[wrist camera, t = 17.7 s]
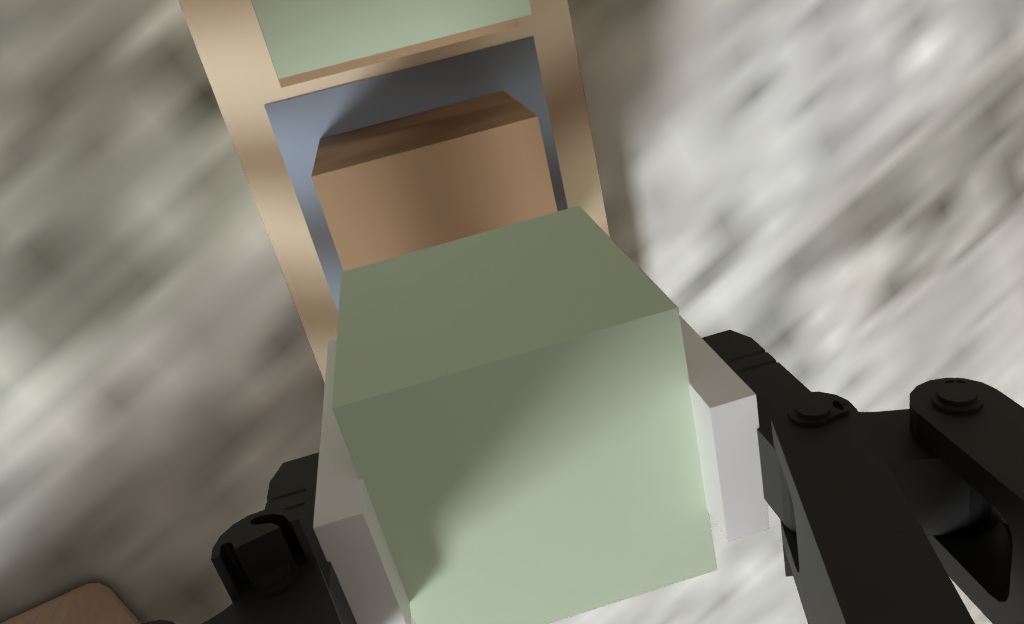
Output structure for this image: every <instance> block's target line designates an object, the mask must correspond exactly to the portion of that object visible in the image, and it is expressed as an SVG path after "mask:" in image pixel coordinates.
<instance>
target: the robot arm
mask: <svg viewBox="0 0 1024 624" xmlns="http://www.w3.org/2000/svg"><path fill="white" fill-rule="evenodd" d="M679 316H680V315H679ZM680 323H681V330H682V336H683V343H684V350H685V357H686V363H687V370H688V377H689V388H690V395H691V402H692V409H693V416H694V423H695V430H696V437H697V443H698V450H699V457H700V464H701V471H702V478H703V485H704V492H705V498H706V505H707V511H708V513H709V514H710V516H711V517H712V519H713V520H714V522H715V523H716V525H717V526H718V528H719V529H720V531H721V532H722V534H723V535H724V537H725V538H726V540H727V541H728V542H729V541H732V540H736V539H739V538H742V537H745V536H748V535H751V534H755V533H758V532H761V531H764V530H767V529H770V527H769V517H768V507H767V503H768V504H769V505H770V507H771V508H772V509H773V510H774V512H775V513H776V514H777V515H778V517H779V518H780V519H781V530H782V540H783V551H784V562H785V572H786V576H793V577H794V580H795V583H796V586H797V590H798V593H799V596H800V599H801V602H802V606H803V609H804V612H805V615H806V618H807V622H808V624H975V623H974V621H973V619H972V618H971V616H970V614H969V612H968V610H967V609H966V607H965V605H964V603H963V601H962V599H961V598H960V596H959V594H958V592H957V590H956V589H955V587H954V585H953V583H952V581H951V580H950V578H951V579H952V580H953V581H954V582H955V584H956V585H957V586H958V587H959V588H960V589H961V590H962V591H963V592H964V593H965V594H966V595H967V596H968V598H969V599H970V600H971V601H972V602H973V603H974V604H975V605H976V606H977V607H978V608H979V609H980V610H981V612H982V613H983V614H984V615H985V616H986V617H987V618H988V619H989V620H990V621H991V622H992V623H993V624H1024V408H1023V407H1022V406H1020V405H1019V404H1017V403H1016V402H1014V401H1013V400H1012V399H1010V398H1009V397H1007V396H1006V395H1004V394H1003V393H1001V392H1000V391H998V390H997V389H995V388H993V387H991V386H989V385H987V384H984V383H982V382H978V381H973V380H969V379H964V378H942V379H936V380H930V381H927V382H925V383H923V384H920V385H918V386H917V387H916V388H915V389H914V390H913V391H912V392H911V393H910V409H904V410H893V411H881V412H858V411H857V409H856V408H855V407H854V406H853V405H852V404H851V403H850V402H849V401H848V400H846V399H844V398H842V397H839V396H837V395H834V394H829V393H823V392H811V391H810V390H808V389H807V388H806V387H805V386H804V385H803V384H802V383H801V382H800V381H799V380H797V379H796V378H795V377H794V376H793V375H792V374H791V373H790V372H789V371H787V370H786V369H785V368H784V367H783V366H782V365H781V364H780V363H779V362H778V363H776V360H775V359H774V358H773V357H772V356H771V355H770V354H769V353H768V352H767V353H766V352H765V350H764V349H763V348H762V347H761V346H760V345H759V344H758V343H757V342H755V341H754V340H753V339H752V338H751V337H748V336H745V335H742V334H740V333H737V332H734V331H732V330H727V331H724V332H721V333H717V334H714V335H710V336H707V337H704V338H701V337H700V336H699V335H698V334H697V333H696V332H695V331H694V330H693V329H692V328H691V327H690V326H689V324H688V323H687V322H686V321H685V320H684V319H683V318H682V317H681V316H680ZM336 342H337V339H334V340H331V341H328V351H327V363H326V375H325V387H324V400H323V412H322V424H321V436H320V449H319V453H316V454H312V455H309V456H305V457H302V458H299V459H295V460H292V461H288V462H285V463H283V464H282V466H281V467H280V468H279V470H278V471H277V473H276V474H275V475H274V477H273V478H272V480H271V481H270V484H269V490H268V496H267V503H266V507H265V510H263V511H260V512H257V513H255V514H252V515H249V516H247V517H245V518H244V519H242V520H240V521H239V522H237V523H235V524H233V525H232V526H231V527H230V528H229V529H228V530H227V531H226V532H225V533H223V534H222V535H221V536H220V538H219V539H218V541H217V542H216V544H215V546H214V547H213V550H212V557H211V560H212V562H213V564H214V566H215V568H216V570H217V572H218V574H219V576H220V578H221V580H222V582H223V584H224V586H225V588H226V590H227V592H228V594H229V595H230V597H231V599H232V602H233V604H231V605H230V606H229V607H228V608H227V609H225V610H224V611H222V612H221V613H219V614H218V615H216V616H215V617H213V618H211V619H210V620H208V621H206V622H204V623H202V624H411V613H410V602H409V600H408V597H407V594H406V592H405V589H404V587H403V584H402V581H401V579H400V576H399V573H398V571H397V568H396V566H395V563H394V560H393V558H392V555H391V552H390V550H389V547H388V544H387V542H386V539H385V537H384V534H383V531H382V529H381V526H380V523H379V521H378V518H377V516H376V513H375V510H374V508H373V505H372V502H371V500H370V497H369V495H368V492H367V489H366V487H365V484H364V481H363V479H360V480H359V477H358V474H357V472H356V469H355V467H354V464H353V462H352V459H351V456H350V454H349V451H348V449H347V446H346V444H345V441H344V438H343V436H342V433H341V431H340V428H339V426H338V423H337V420H336V418H335V415H334V413H333V410H332V400H333V385H334V371H335V357H336ZM949 577H950V578H949ZM143 624H175V623H174V622H171V621H165V620H157V621H151V622H146V623H143Z"/></svg>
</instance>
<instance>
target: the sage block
mask: <svg viewBox="0 0 1024 624" xmlns="http://www.w3.org/2000/svg"><path fill="white" fill-rule="evenodd" d="M332 410H333V413H334V415H335V418H336V420H337V423H338V426H339V428H340V431H341V433H342V436H343V438H344V441H345V444H346V446H347V449H348V451H349V454H350V456H351V459H352V462H353V464H354V467H355V469H356V472H357V474H358V477H359V480H360V479H363V481H364V484H365V487H366V489H367V492H368V495H369V497H370V500H371V502H372V505H373V508H374V510H375V513H376V516H377V518H378V521H379V523H380V526H381V529H382V531H383V534H384V537H385V539H386V542H387V544H388V547H389V550H390V552H391V555H392V558H393V560H394V563H395V566H396V568H397V571H398V573H399V576H400V579H401V581H402V584H403V587H404V589H405V592H406V594H407V597H408V600H409V602H410V611H411V613H412V616H413V619H414V621H415V624H549V623H552V622H555V621H558V620H561V619H564V618H568V617H571V616H574V615H577V614H580V613H583V612H586V611H590V610H593V609H596V608H599V607H602V606H605V605H608V604H612V603H615V602H618V601H621V600H624V599H627V598H630V597H634V596H637V595H640V594H643V593H646V592H649V591H652V590H656V589H659V588H662V587H665V586H668V585H671V584H674V583H678V582H681V581H684V580H687V579H690V578H693V577H696V576H700V575H703V574H706V573H709V572H712V571H715V570H717V564H716V557H715V550H714V544H713V537H712V530H711V523H710V517H709V513H708V511H707V505H706V498H705V492H704V485H703V478H702V471H701V464H700V457H699V450H698V443H697V437H696V430H695V423H694V416H693V409H692V402H691V395H690V388H689V377H688V370H687V363H686V357H685V350H684V343H683V336H682V330H681V323H680V316H679V310H678V307H677V306H676V305H675V304H674V303H673V302H672V301H671V300H670V299H669V298H668V297H667V295H666V294H665V293H664V292H663V291H662V290H661V289H660V288H659V287H658V286H657V285H656V284H655V283H654V282H653V281H652V280H651V279H650V278H649V277H648V276H647V275H646V274H645V273H644V272H643V271H642V270H641V269H640V268H639V267H638V266H637V265H636V264H635V263H634V262H633V261H632V260H631V258H630V257H629V256H628V255H627V254H626V253H625V252H624V251H623V250H622V249H621V248H620V247H619V246H618V245H617V244H616V243H615V242H614V241H613V240H612V239H611V238H610V237H609V236H608V235H607V234H606V233H605V232H604V231H603V230H602V229H601V228H600V227H599V226H598V225H597V224H596V223H595V221H594V220H593V219H592V218H591V217H590V216H589V215H588V214H587V213H586V212H585V211H584V210H583V209H582V208H581V207H580V206H576V207H573V208H569V209H565V210H562V211H558V212H555V213H551V214H547V215H544V216H540V217H537V218H533V219H530V220H526V221H522V222H519V223H515V224H512V225H508V226H505V227H501V228H497V229H494V230H490V231H487V232H483V233H480V234H476V235H472V236H469V237H465V238H462V239H458V240H454V241H451V242H447V243H444V244H440V245H437V246H433V247H429V248H426V249H422V250H419V251H415V252H412V253H408V254H404V255H401V256H397V257H394V258H390V259H387V260H383V261H379V262H376V263H372V264H369V265H365V266H361V267H358V268H354V269H351V270H347V271H344V272H341V285H340V299H339V313H338V328H337V342H336V357H335V371H334V385H333V400H332Z"/></svg>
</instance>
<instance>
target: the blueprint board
mask: <svg viewBox="0 0 1024 624" xmlns="http://www.w3.org/2000/svg"><path fill="white" fill-rule="evenodd" d="M529 2H530V7H531V12H532V14H531V15H527V16H523V17H519V18H518V23H519V27H516V28H512V29H508V30H504V31H500V32H496V33H493V34H489V35H485V36H481V37H477V38H473V39H469V40H465V41H461V42H458V43H454V44H450V45H446V46H442V47H438V48H434V49H430V50H426V51H423V52H419V53H415V54H411V55H407V56H403V57H399V58H395V59H391V60H388V61H384V62H380V63H376V64H372V65H368V66H364V67H360V68H356V69H353V70H349V71H345V72H341V73H337V74H333V75H329V76H325V77H321V78H318V79H314V80H310V81H306V82H302V83H298V84H294V85H290V86H286V87H283V88H281V86H280V83H279V80H278V77H277V74H276V71H275V69H274V66H273V63H272V60H271V57H270V54H269V51H268V48H267V45H266V42H265V40H264V37H263V34H262V31H261V28H260V25H259V22H258V19H257V16H256V13H255V10H254V8H253V5H252V2H251V0H179V3H180V6H181V8H182V11H183V14H184V16H185V19H186V21H187V24H188V27H189V29H190V32H191V34H192V37H193V40H194V42H195V45H196V48H197V50H198V53H199V55H200V58H201V61H202V63H203V66H204V68H205V71H206V74H207V76H208V79H209V82H210V84H211V87H212V89H213V92H214V95H215V97H216V100H217V102H218V105H219V108H220V110H221V113H222V116H223V118H224V121H225V123H226V126H227V129H228V131H229V134H230V136H231V139H232V142H233V144H234V147H235V150H236V152H237V155H238V157H239V160H240V163H241V165H242V168H243V171H244V173H245V176H246V178H247V181H248V184H249V186H250V189H251V191H252V194H253V197H254V199H255V202H256V205H257V207H258V210H259V212H260V215H261V218H262V220H263V223H264V225H265V228H266V231H267V233H268V236H269V239H270V241H271V244H272V246H273V249H274V252H275V254H276V257H277V259H278V262H279V265H280V267H281V270H282V273H283V275H284V278H285V280H286V283H287V286H288V288H289V291H290V293H291V296H292V299H293V301H294V304H295V307H296V309H297V312H298V314H299V317H300V320H301V322H302V325H303V327H304V330H305V333H306V335H307V338H308V341H309V343H310V346H311V348H312V351H313V354H314V356H315V359H316V361H317V364H318V367H319V369H320V372H321V375H322V377H323V380H324V382H325V375H326V363H327V351H328V341H331V340H334V339H337V328H338V313H339V299H340V285H341V272H344V271H343V268H342V265H341V262H340V259H339V256H338V253H337V250H336V247H335V245H334V242H333V239H332V236H331V233H330V230H329V227H328V224H327V221H326V218H325V216H324V213H323V210H322V207H321V204H320V201H319V198H318V195H317V192H316V189H315V187H314V184H313V181H312V178H311V175H312V171H313V167H314V162H315V158H316V153H317V149H318V145H319V140H320V139H322V138H325V137H329V136H333V135H337V134H341V133H344V132H348V131H352V130H356V129H360V128H363V127H367V126H371V125H375V124H379V123H382V122H386V121H390V120H394V119H397V118H401V117H405V116H409V115H413V114H416V113H420V112H424V111H428V110H432V109H435V108H439V107H443V106H447V105H451V104H454V103H458V102H462V101H466V100H470V99H473V98H477V97H481V96H485V95H489V94H492V93H496V92H500V91H505V92H506V93H507V94H509V95H510V96H511V97H513V98H514V99H515V100H517V101H518V102H519V103H521V104H522V105H523V106H525V107H526V108H527V109H529V110H530V111H531V112H533V113H534V114H535V115H537V116H538V119H539V124H540V129H541V134H542V139H543V144H544V148H545V153H546V158H547V163H548V168H549V173H550V177H551V182H552V187H553V192H554V197H555V202H556V206H557V211H562V210H565V209H569V208H573V207H576V206H580V207H581V208H582V209H583V210H584V211H585V212H586V213H587V214H588V215H589V216H590V217H591V218H592V219H593V220H594V221H595V223H596V224H597V225H598V226H599V227H600V228H601V229H602V230H603V231H604V232H605V233H606V234H607V235H608V236H609V237H610V235H609V229H608V224H607V218H606V213H605V207H604V201H603V196H602V190H601V185H600V179H599V173H598V168H597V162H596V157H595V151H594V145H593V140H592V134H591V129H590V123H589V117H588V112H587V106H586V101H585V95H584V89H583V84H582V78H581V73H580V67H579V61H578V56H577V50H576V45H575V39H574V33H573V28H572V22H571V17H570V11H569V5H568V0H529Z"/></svg>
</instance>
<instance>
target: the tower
mask: <svg viewBox="0 0 1024 624" xmlns="http://www.w3.org/2000/svg"><path fill="white" fill-rule="evenodd" d="M251 2H252V5H253V8H254V10H255V13H256V16H257V19H258V22H259V25H260V28H261V31H262V34H263V37H264V40H265V42H266V45H267V48H268V51H269V54H270V57H271V60H272V63H273V66H274V69H275V71H276V74H277V77H278V80H279V83H280V86H281V88H283V87H286V86H290V85H294V84H298V83H302V82H306V81H310V80H314V79H318V78H321V77H325V76H329V75H333V74H337V73H341V72H345V71H349V70H353V69H356V68H360V67H364V66H368V65H372V64H376V63H380V62H384V61H388V60H391V59H395V58H399V57H403V56H407V55H411V54H415V53H419V52H423V51H426V50H430V49H434V48H438V47H442V46H446V45H450V44H454V43H458V42H461V41H465V40H469V39H473V38H477V37H481V36H485V35H489V34H493V33H496V32H500V31H504V30H508V29H512V28H516V27H519V23H518V18H519V17H523V16H527V15H531V14H532V12H531V7H530V2H529V0H251Z"/></svg>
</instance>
